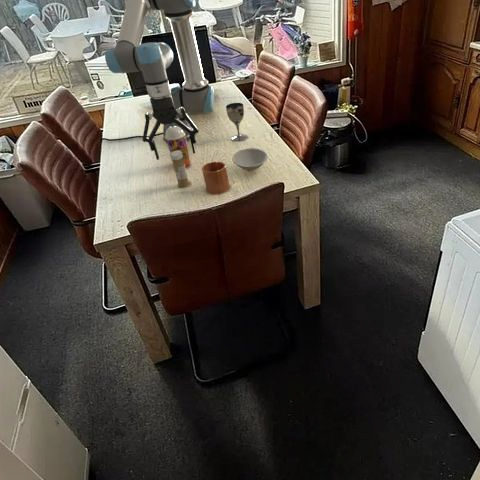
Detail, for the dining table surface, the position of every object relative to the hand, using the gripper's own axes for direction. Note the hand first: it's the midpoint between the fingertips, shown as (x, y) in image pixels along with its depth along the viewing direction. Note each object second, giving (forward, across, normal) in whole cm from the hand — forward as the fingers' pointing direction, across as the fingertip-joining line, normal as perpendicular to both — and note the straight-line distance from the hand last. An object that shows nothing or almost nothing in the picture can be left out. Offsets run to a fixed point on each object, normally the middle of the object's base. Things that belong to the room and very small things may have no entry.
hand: (176, 155), depth 145 cm
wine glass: (+12, +29, +38) cm, 49 cm away
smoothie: (+12, 0, +18) cm, 22 cm away
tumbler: (+13, +13, -8) cm, 20 cm away
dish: (+13, +28, +4) cm, 31 cm away
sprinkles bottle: (+13, 0, 0) cm, 13 cm away
